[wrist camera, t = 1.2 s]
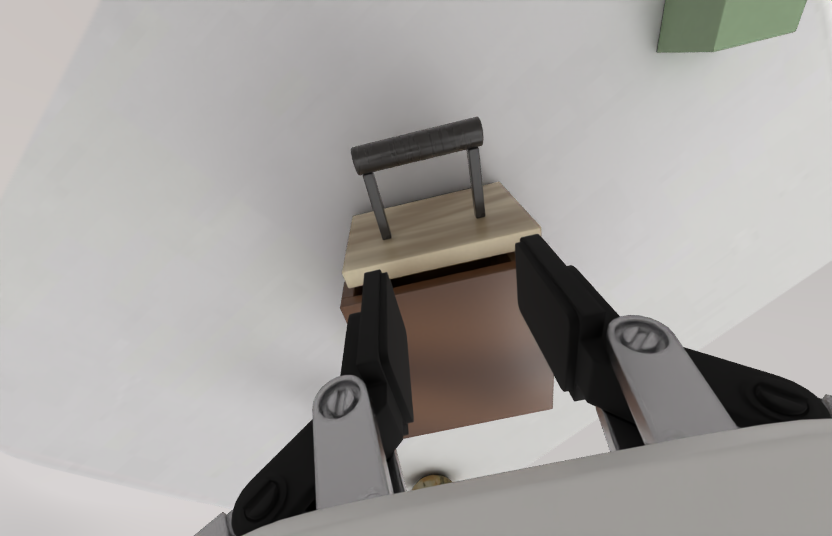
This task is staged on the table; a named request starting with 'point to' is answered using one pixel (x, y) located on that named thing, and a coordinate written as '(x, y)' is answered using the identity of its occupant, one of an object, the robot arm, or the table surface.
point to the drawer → (432, 214)
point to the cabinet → (467, 349)
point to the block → (725, 23)
